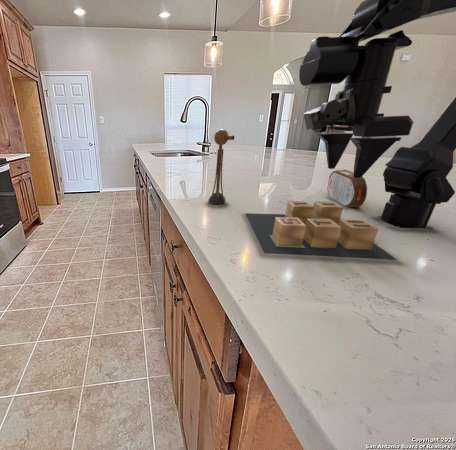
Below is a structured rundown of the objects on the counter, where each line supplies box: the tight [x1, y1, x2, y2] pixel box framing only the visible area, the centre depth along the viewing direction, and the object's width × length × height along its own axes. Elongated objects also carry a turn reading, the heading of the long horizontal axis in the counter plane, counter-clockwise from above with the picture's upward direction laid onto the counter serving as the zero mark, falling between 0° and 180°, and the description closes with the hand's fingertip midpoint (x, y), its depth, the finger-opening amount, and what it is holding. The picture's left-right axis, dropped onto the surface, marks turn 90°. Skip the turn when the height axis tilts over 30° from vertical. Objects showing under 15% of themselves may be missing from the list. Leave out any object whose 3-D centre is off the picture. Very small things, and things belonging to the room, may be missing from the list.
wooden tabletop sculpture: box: [207, 128, 235, 206], centre depth 65 cm, size 6×5×20 cm
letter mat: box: [245, 212, 398, 261], centre depth 49 cm, size 20×20×1 cm
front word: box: [303, 218, 379, 250], centre depth 43 cm, size 10×4×4 cm, turn 80°
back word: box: [285, 200, 344, 224], centre depth 53 cm, size 10×4×4 cm, turn 80°
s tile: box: [272, 217, 306, 246], centre depth 45 cm, size 4×4×4 cm
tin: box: [327, 169, 368, 208], centre depth 65 cm, size 15×3×8 cm, turn 168°
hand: (342, 172), depth 48 cm, fingers open, 9 cm apart
